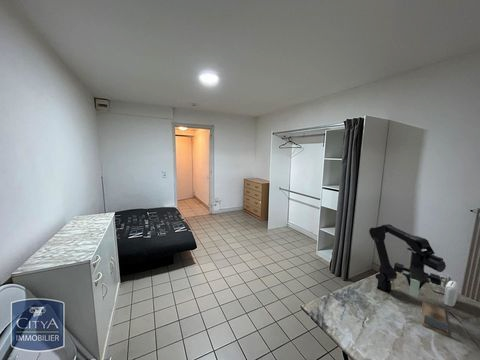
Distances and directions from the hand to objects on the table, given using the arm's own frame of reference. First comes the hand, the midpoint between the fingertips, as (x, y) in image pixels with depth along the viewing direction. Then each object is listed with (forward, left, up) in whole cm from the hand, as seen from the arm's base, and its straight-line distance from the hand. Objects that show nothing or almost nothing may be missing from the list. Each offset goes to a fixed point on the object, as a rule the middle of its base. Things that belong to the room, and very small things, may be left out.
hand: (414, 287), depth 105 cm
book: (0, 0, -3) cm, 3 cm away
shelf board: (+9, 0, -13) cm, 16 cm away
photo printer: (+16, +22, -13) cm, 30 cm away
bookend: (+9, -9, -12) cm, 17 cm away
